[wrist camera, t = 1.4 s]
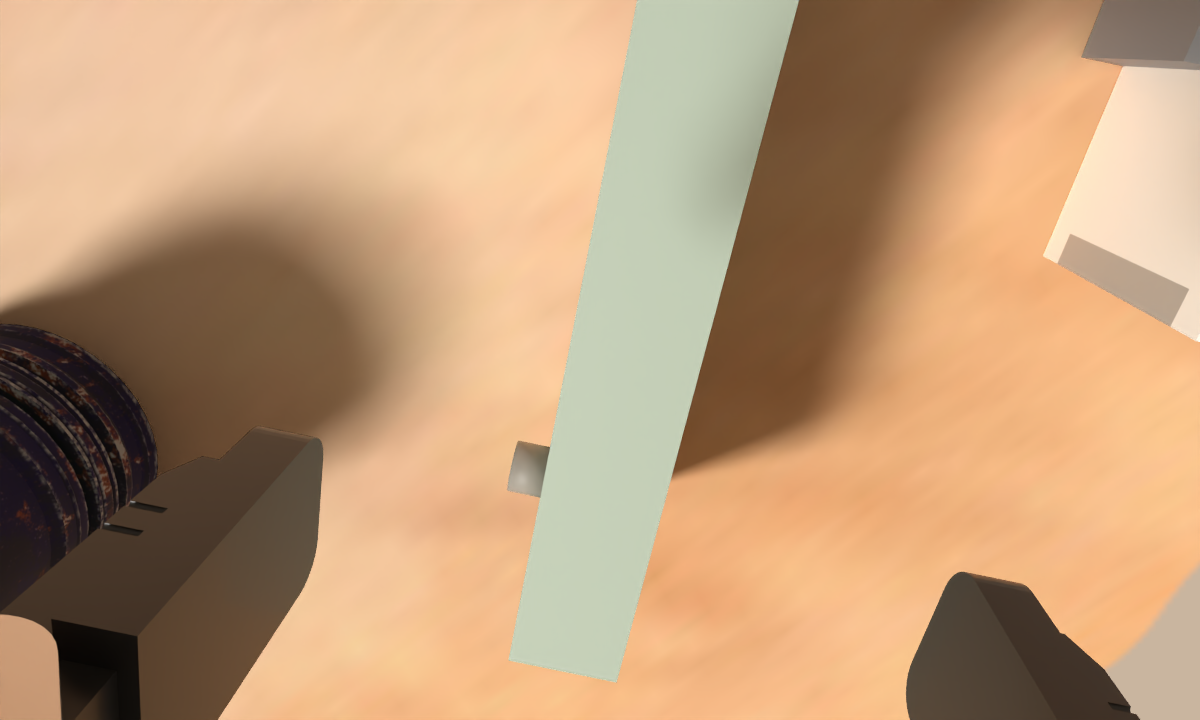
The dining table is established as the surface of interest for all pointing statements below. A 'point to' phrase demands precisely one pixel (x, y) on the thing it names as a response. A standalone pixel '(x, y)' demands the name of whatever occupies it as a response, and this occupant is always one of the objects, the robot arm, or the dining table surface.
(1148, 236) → the cabinet
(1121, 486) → the dining table surface
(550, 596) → the door
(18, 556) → the dark blue barrel
